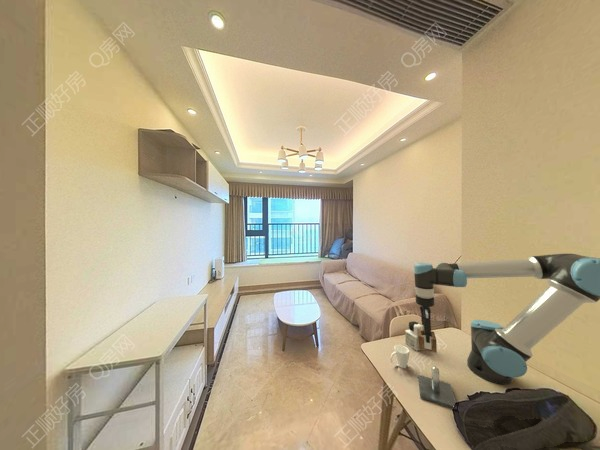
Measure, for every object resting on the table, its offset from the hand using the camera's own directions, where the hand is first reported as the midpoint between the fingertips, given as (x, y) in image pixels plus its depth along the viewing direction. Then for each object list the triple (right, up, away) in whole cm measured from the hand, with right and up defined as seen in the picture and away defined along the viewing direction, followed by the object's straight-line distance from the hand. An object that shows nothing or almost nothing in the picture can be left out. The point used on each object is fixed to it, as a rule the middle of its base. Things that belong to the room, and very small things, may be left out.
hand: (426, 343), depth 92 cm
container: (+6, -13, +19) cm, 24 cm away
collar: (0, -1, 0) cm, 1 cm away
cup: (-11, -14, +4) cm, 18 cm away
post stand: (-4, -13, -11) cm, 18 cm away
